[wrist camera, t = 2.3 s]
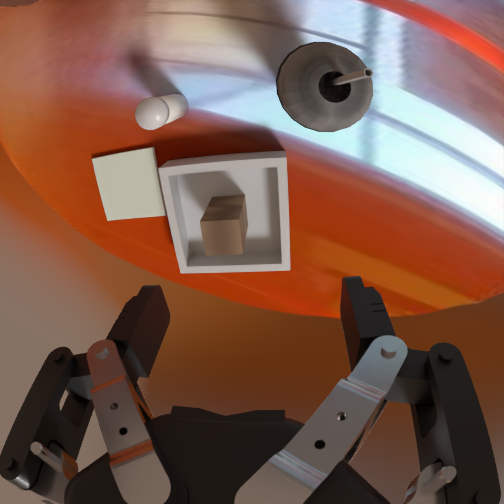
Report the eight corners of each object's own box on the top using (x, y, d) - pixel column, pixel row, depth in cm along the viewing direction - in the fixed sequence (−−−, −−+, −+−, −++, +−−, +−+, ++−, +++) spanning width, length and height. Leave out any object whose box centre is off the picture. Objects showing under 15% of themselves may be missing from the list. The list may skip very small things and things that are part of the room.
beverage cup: (261, 87, 30) (245, 89, 13) (305, 43, 27) (345, -7, 10) (310, 130, 32) (352, 185, 15) (353, 87, 29) (442, 98, 12)
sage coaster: (109, 218, 40) (107, 220, 39) (94, 157, 35) (92, 159, 35) (166, 213, 39) (165, 215, 38) (154, 146, 34) (152, 147, 34)
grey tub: (187, 258, 42) (180, 273, 39) (168, 160, 35) (158, 168, 32) (289, 255, 41) (290, 270, 38) (285, 150, 34) (286, 157, 31)
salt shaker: (165, 120, 33) (137, 132, 26) (162, 95, 31) (133, 101, 24) (190, 117, 32) (168, 127, 26) (187, 91, 31) (163, 94, 24)
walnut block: (216, 226, 39) (205, 255, 33) (212, 196, 37) (199, 221, 31) (248, 225, 38) (242, 254, 32) (245, 194, 36) (238, 219, 30)
